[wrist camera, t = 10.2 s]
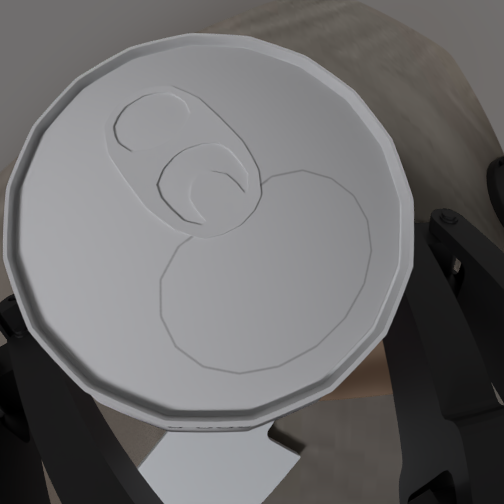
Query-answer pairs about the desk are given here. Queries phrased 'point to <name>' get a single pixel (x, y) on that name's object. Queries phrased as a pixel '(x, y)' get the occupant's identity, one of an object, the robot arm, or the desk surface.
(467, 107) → the desk surface
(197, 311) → the supplement can
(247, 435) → the mounting plate
